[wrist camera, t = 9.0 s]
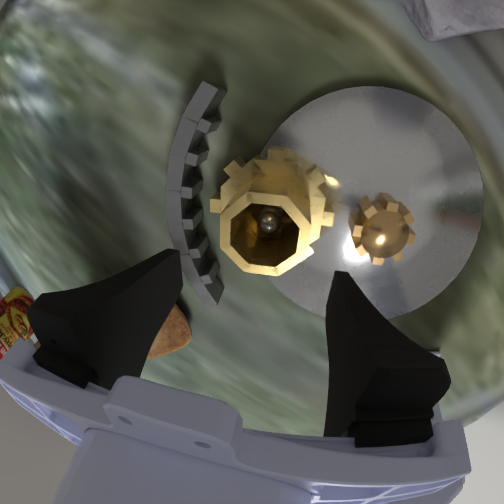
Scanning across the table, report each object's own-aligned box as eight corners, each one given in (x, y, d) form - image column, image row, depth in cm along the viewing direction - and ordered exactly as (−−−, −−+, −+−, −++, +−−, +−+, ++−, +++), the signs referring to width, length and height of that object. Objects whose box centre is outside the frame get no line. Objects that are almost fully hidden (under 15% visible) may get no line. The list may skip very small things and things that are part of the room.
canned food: (50, 325, 37) (11, 374, 26) (28, 320, 38) (-8, 363, 28) (27, 286, 33) (-19, 334, 23) (8, 285, 35) (-33, 326, 24)
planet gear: (321, 261, 22) (325, 305, 17) (216, 247, 23) (194, 286, 18) (339, 154, 18) (353, 172, 13) (217, 142, 19) (189, 156, 14)
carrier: (435, 323, 24) (446, 351, 21) (186, 295, 27) (171, 322, 24) (499, 128, 14) (528, 137, 11) (178, 71, 17) (152, 67, 14)
